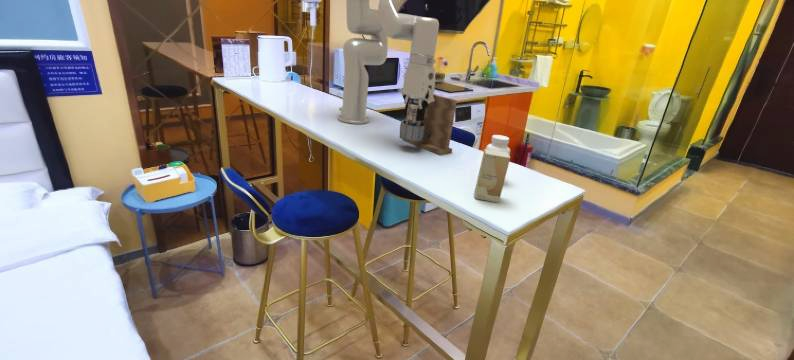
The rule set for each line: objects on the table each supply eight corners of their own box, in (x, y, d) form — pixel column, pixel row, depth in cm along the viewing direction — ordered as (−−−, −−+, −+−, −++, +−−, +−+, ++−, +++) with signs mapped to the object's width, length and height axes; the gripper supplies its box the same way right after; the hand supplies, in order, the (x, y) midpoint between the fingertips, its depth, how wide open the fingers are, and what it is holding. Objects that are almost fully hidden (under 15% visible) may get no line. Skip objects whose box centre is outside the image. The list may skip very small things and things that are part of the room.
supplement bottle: (481, 173, 114) (490, 132, 110) (504, 179, 112) (514, 136, 108) (477, 180, 109) (487, 137, 104) (501, 186, 107) (511, 142, 102)
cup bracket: (383, 142, 132) (389, 90, 126) (414, 138, 142) (421, 89, 135) (420, 159, 120) (428, 102, 114) (451, 153, 130) (460, 100, 123)
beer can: (403, 131, 125) (408, 94, 120) (406, 128, 129) (410, 92, 125) (418, 133, 124) (423, 96, 120) (420, 130, 129) (425, 94, 124)
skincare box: (474, 199, 96) (483, 153, 92) (473, 192, 100) (483, 147, 96) (500, 203, 96) (511, 157, 91) (498, 196, 100) (509, 151, 95)
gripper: (450, 65, 115) (440, 124, 122) (411, 57, 126) (404, 111, 133) (433, 64, 110) (424, 126, 117) (394, 56, 122) (388, 112, 128)
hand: (413, 117), depth 125 cm, fingers closed on beer can, 4 cm apart
